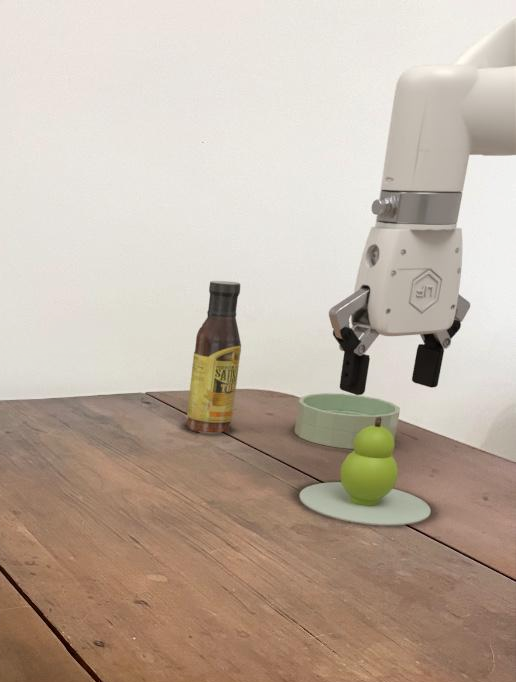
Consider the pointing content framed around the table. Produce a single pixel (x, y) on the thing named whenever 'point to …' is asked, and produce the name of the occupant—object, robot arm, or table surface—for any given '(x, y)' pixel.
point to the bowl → (341, 417)
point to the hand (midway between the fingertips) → (388, 388)
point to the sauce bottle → (215, 362)
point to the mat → (387, 511)
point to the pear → (370, 466)
